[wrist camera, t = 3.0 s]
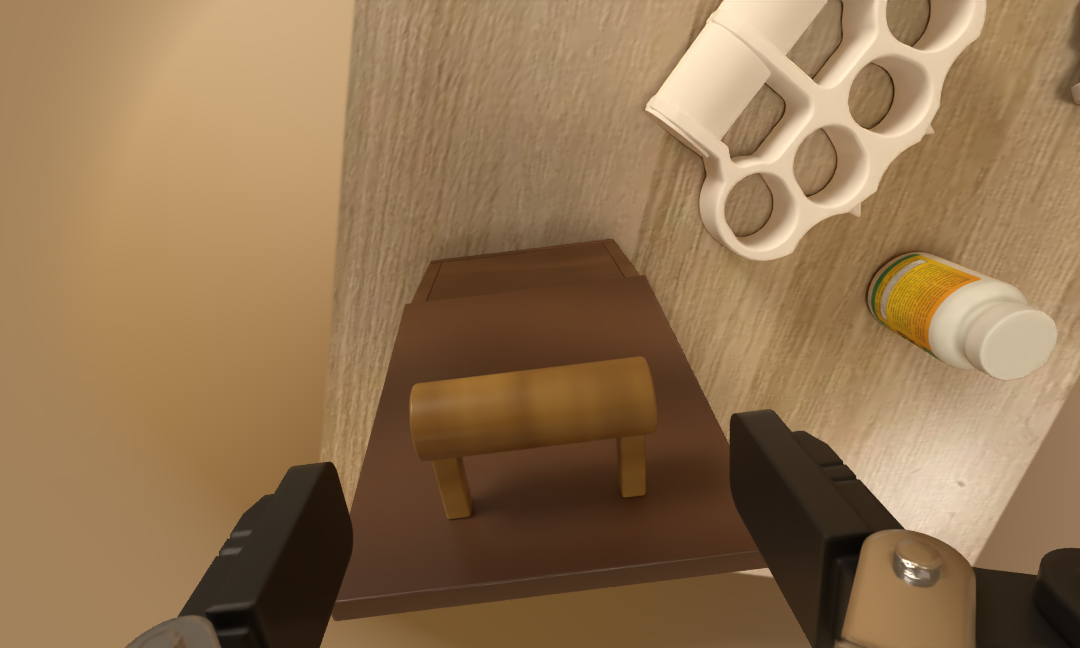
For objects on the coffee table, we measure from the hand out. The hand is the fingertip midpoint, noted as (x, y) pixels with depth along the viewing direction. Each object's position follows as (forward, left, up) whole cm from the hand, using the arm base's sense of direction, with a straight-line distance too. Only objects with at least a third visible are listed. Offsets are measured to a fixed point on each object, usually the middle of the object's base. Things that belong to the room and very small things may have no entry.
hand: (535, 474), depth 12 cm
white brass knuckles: (+5, +17, -26) cm, 32 cm away
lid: (+3, -2, -9) cm, 10 cm away
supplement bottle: (+20, +17, -26) cm, 37 cm away
